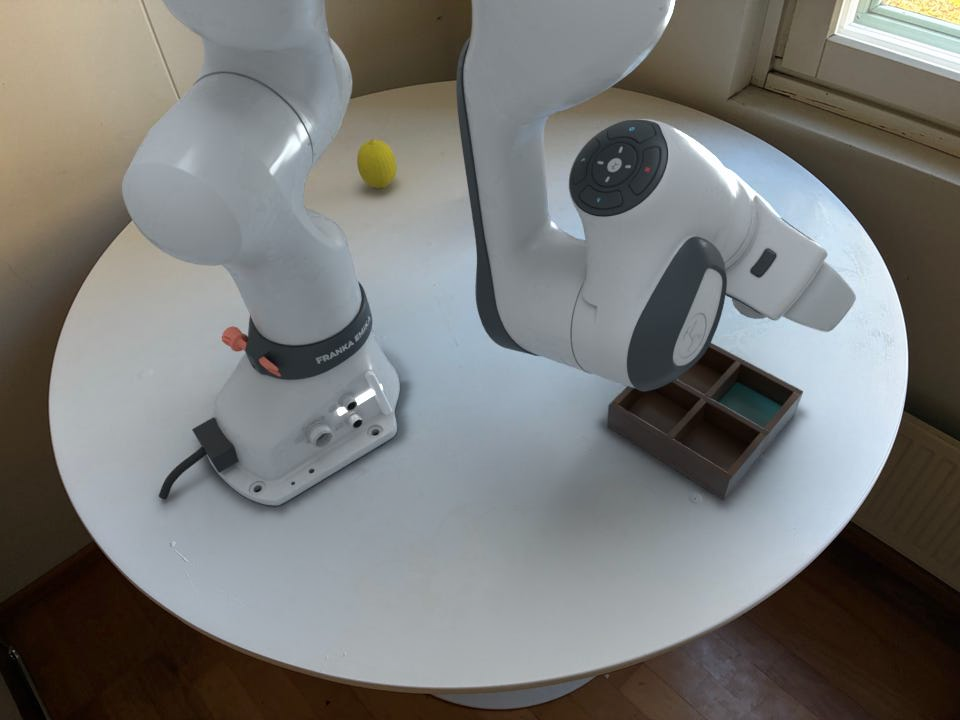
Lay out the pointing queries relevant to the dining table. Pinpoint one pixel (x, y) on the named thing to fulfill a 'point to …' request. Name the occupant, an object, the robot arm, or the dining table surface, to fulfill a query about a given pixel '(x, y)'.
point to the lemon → (376, 163)
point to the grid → (708, 418)
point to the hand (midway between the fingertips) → (767, 269)
